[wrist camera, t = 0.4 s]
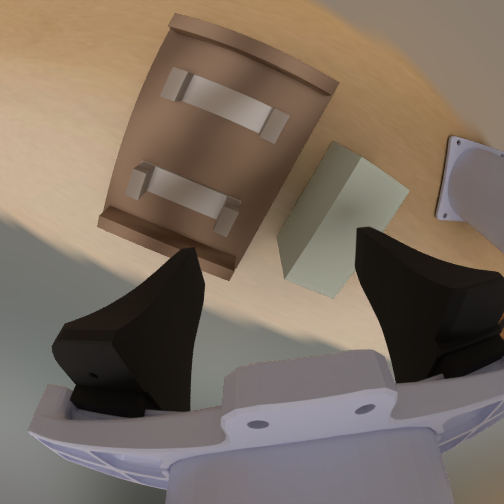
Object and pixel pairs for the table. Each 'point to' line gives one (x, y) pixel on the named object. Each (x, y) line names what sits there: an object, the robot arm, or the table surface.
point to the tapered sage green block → (335, 219)
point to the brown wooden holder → (211, 143)
